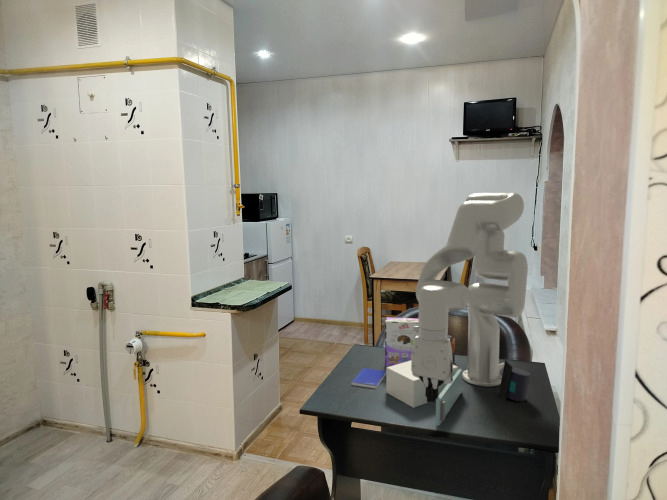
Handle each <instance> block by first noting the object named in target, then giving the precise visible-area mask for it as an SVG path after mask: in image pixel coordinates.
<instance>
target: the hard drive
mask: <svg viewBox="0 0 667 500" xmlns="http://www.w3.org/2000/svg"><path fill="white" fill-rule="evenodd" d="M385 376H386V370H381V369H373V368H365V367H363V369H361V371H360V372H359V373H358V374H357V376H355V378H354V379H353V380H352V381H351V382H350V383H351V386H356V387H364V388H370V389H377V388H378V387H379V385H380V384H381V382H382V381H383V380H384V378H385Z"/></svg>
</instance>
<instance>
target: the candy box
mask: <svg viewBox="0 0 667 500" xmlns="http://www.w3.org/2000/svg"><path fill="white" fill-rule="evenodd" d="M418 321H419V318H416V317H415V318H414V317H413V318H412V317H411V318H410V317H389V316H387V317H386V319H385V320H384V366H385V367H390V366H393V365H397V364H400V363H404V362H407V361H411V360H412V351H413V345H414V340H415V337H416V336H418V333H417V332H416V331H413V328H414V326H416V327H417V326H418Z"/></svg>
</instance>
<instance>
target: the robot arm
mask: <svg viewBox="0 0 667 500" xmlns="http://www.w3.org/2000/svg"><path fill="white" fill-rule="evenodd" d="M524 208H525V202H524V200H523V197H522V196H521V195H520V194H519V193H516V192H478V193H472V194H470V195H468V196H467V197H466V199H465V202H463V203H461V204H460V205H459V207H458V209H457V211H456V214H455V217H454V220H453V223H452V225H451V230H450V233H449V236H448V239H447V242H446V244H445V245H444V246H443V247H441V249H439V250H438V251H437V252H435V253H434V254H433V255H432V256H431V257H430V258H429V259H428V260H427V261H426V263H424V265H423V267H422V269H421V272H420V275H419V277H418V281H417V284H416V289H415V296H416V300H417V302H418V319H419V321H418V326H417V327H416V326H414V328H413V331H416V332H417V333H418V336H416V337H415V340H414V345H413V351H412V361H411V371H412V375H413V376H415V377H417V378H420V380H421V381H422V382H423V383H424V386H425V387H426V393H425V396H426V397H427V402H428V403H430V404H434V403H435V402H436V398H437V397H438V387H439V386H440V385H442V384H444V383H445V384H450V383H452V381H453V378H452V373H453V356H452V348H451V342H450V339H448V335H449V312H457V311H461V310H464V309H465V308H467V315H468V320H467V321H468V326H467V327H468V330H467V335H468V336H467V369H466V370H463V371H462V380H463V381H465V382H466V383H469V384H472V385H474V386H477V387H478V386H479V387H488V388H490V387H496V386H500V384H501V379H502V373H500V372H501V371H502V370H503V368H504V363H505V362H501V363H499V362H500V361H499V360H500V332H501V329H500V324H499V321H498V320H497V318H496V316H499V317H504V318H505V317H506V318H519V317H520V316H521V315H522V314H523V312H524V310H525V309H524V308H525V305H526V294H527V285H528V283H527V282H528V265H529V264H528V260H527V257H526V255H525V254H524V253H523V252H520V251H518V250H507V249H505V248H504V247H505V232H504V231H505V230H506V229H508V228H510V227H511V226H513V225H514V224H515V223H517V221H519V220H520V218H521V217H522V216H523V213H524ZM472 258H474V259H473V270H474V271H473V272H474V274H475V275H476V276H477V277H478V278H482V279H486V280H493V281H494V280H495V281H503V282H507V285H505V284H498V283H488V282H476V283H472V284H470V285H469V286H468V287H467V286H466V285H465V284H463V283H460V282H455V281H447V280H443V279H442V280H441V279H437V277H438V275H439V274H440V273H441V272H442V271H443V270H445V269H446V268H448V267H451V266H453V265H456V264H459V263H462V262H464V261H467V260H470V259H472ZM431 378H432V379H434V380H433V384H432V380H431Z"/></svg>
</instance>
